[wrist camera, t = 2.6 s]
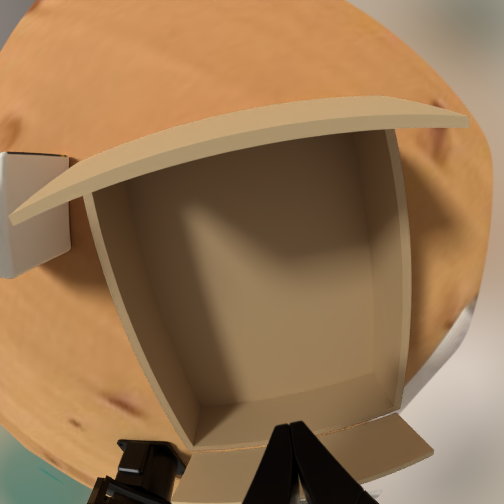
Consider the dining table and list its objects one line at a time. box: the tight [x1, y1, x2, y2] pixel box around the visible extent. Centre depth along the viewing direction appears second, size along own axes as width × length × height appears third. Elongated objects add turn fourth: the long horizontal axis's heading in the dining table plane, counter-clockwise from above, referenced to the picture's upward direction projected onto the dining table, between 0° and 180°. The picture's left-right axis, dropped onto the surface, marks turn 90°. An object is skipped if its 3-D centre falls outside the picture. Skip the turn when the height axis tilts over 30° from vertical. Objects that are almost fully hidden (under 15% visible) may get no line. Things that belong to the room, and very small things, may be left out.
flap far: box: [170, 413, 434, 504], centre depth 13 cm, size 6×15×1 cm
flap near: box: [8, 96, 469, 226], centre depth 9 cm, size 6×15×1 cm
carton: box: [83, 129, 411, 451], centre depth 16 cm, size 20×16×5 cm
